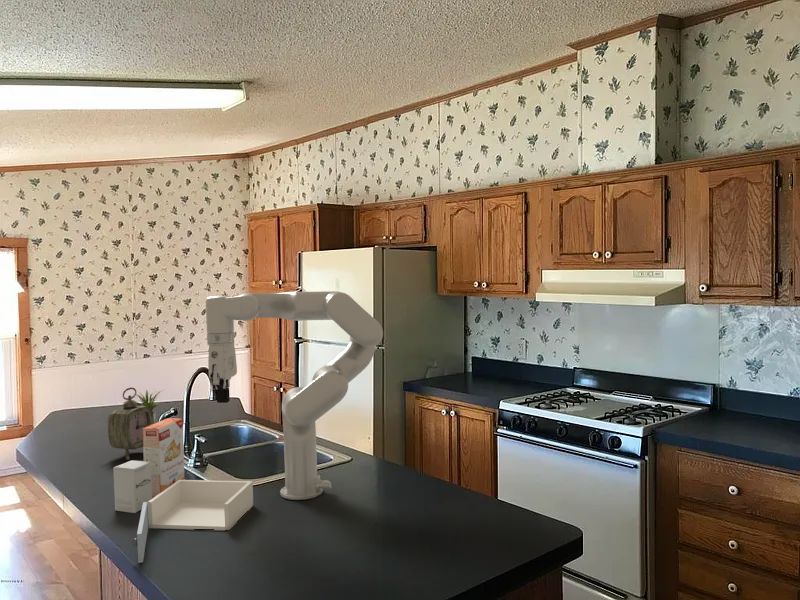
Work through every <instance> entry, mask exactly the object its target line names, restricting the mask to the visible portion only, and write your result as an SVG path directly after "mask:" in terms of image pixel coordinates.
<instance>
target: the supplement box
mask: <svg viewBox="0 0 800 600" xmlns="http://www.w3.org/2000/svg"><path fill="white" fill-rule="evenodd" d="M112 469H113V490H114V491H113V493H114V510H115V511H118V512H123V513H124V512H125V513H131V514H136V513H138V512H139V511H142V505H143V502H147V507H148V501H150V500H151V499H153V497H152V481H151V462H145V461H144V460H128V461H127V462H124V463H122V464H119V465H116V466H114V467H113V468H112Z"/></svg>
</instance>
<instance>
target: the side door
mask: <svg viewBox="0 0 800 600" xmlns="http://www.w3.org/2000/svg"><path fill="white" fill-rule="evenodd" d="M140 511H141V512H140V517H139V522H138V527H137V532H136V537H133V538H132V548H137V561H138V564H140V563H141V564H142V563H144V559H145V558H144V557H145V552H146V547H147V546H146V543H147V539H148V532H149V519H148V506H147V502H143V505H142V509H141V510H140Z"/></svg>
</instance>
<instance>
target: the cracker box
mask: <svg viewBox="0 0 800 600" xmlns="http://www.w3.org/2000/svg"><path fill="white" fill-rule="evenodd" d="M184 447H185V446H184V418H177V417H176V418H174V417H173V418H168V417H167V418H164V419H162V420H160V421H158V422H155V424H153V425H150V426H148V427H145V428H143V447H142V449H143V451H142V453H143V461H145V462H151V481H152V498H154V497H155V496H157V495H158V494H160V493H161V492H163V491H164V490H165V489H167V488H168V487H170V486H171V485H173V484H174V483H175V482H177V481H178V480H186V479H185V455H184V454H185V451H184V450H185V448H184Z"/></svg>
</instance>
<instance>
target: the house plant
mask: <svg viewBox="0 0 800 600" xmlns="http://www.w3.org/2000/svg"><path fill="white" fill-rule="evenodd" d="M163 391H165V390H160V391H158V392H157V391H155V393H156V394H155V395H154V396H153V394H152V393H150V394H149V391H148V390H147V389H146V391H145V396H144V395H143V394H142V393H141V392H139V394H140V395H139V394H137V393H136V396H135V397H134V399H137V397H138V398H139V399H140V400H139V401H140V403H139V402H137V401H136V402H137V404H138V406H149V407H151V408H152V411H153V410H154V409H155V407H159V406H160V404H158V402H155V401H156V400H157V397H158V396H159V395H160V394H161V392H163ZM152 396H153V397H152ZM156 416H157V411H153V419H154V424H155V423H156Z"/></svg>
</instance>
